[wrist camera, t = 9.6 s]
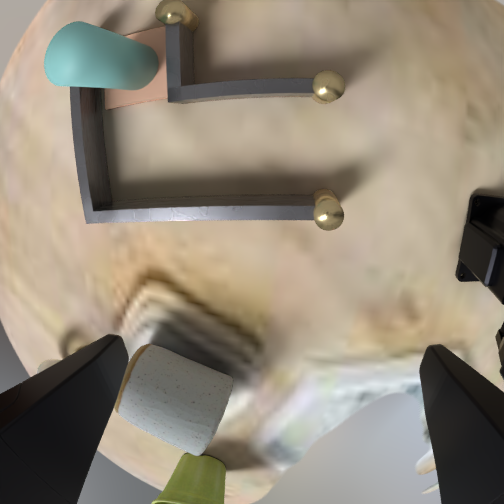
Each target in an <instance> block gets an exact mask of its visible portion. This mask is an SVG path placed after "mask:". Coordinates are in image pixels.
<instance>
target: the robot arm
mask: <svg viewBox="0 0 504 504" xmlns="http://www.w3.org/2000/svg"><path fill="white" fill-rule="evenodd" d="M476 199H478V202H477V203H476V204H475V200H476ZM462 273H463V275H462V276H460V275H461V274H462ZM455 276H456V278H457V279H458V280H459V281H460V282H469V281H480V282H481V283H482V284H483V285H484V286H485V287H488V288H489V289H490V290H491V292H492V293H493V294H494V295H495V296H496V297H497V298H498V300H499V301H500V302H501V303H502V304H503V305H504V197H500V196H492V195H483V194H473V195H472V196H471V197H470V200H469V207H468V214H467V220H466V224H465V227H464V232H463V238H462V243H461V248H460V253H459V261H458V265H457V270H456V275H455ZM495 337H496V341H497V345H498V349H499V357H500V362H501V365H502V367H501V368H500V374H501V376H502V378H503V380H504V322H503V325H502V327H501V329H499V330H498V332H497V334H496V336H495ZM128 361H129V357H128V353H127V350H126V347H125V344H124V342H123V339H122V337H121V336H119V335H114V334H108V335H106V336H104V337H102V338H100V339H99V340H97V341H95V342H93V343H91V344H90V345H88V346H86V347H84V348H82V349H81V350H79V351H77V352H75V353H74V354H72V355H70V356H68V357H66V358H65V359H63V360H61V361H59V362H57V363H56V364H54V365H52V366H50V367H48V368H47V369H45V370H43V371H41V372H39V373H38V374H36V375H34V376H32V377H30V378H29V379H27V380H25V381H23V382H22V383H19V384H18V385H16V386H14V387H12V388H11V389H9V390H7V391H5V392H3V393H1V394H0V504H77V502H78V499H79V496H80V493H81V490H82V488H83V485H84V482H85V479H86V477H87V474H88V471H89V469H90V466H91V463H92V460H93V458H94V455H95V453H96V450H97V448H98V445H99V443H100V440H101V438H102V435H103V433H104V430H105V428H106V425H107V423H108V420H109V418H110V416H111V413H112V411H113V408H114V406H115V403H116V400H117V397H118V394H119V391H120V388H121V384H122V381H123V378H124V375H125V371H126V368H127V365H128ZM419 373H420V380H421V386H422V393H423V401H424V409H425V415H426V421H427V425H428V430H429V434H430V439H431V444H432V449H433V454H434V459H435V464H436V470H437V476H438V482H439V489H440V496H441V503H442V504H504V392H503V391H501V390H500V389H499V388H498V387H496V386H495V385H494V384H492V383H491V382H490V381H489V380H487V379H486V378H485V377H484V376H482V375H481V374H480V373H478V372H477V371H476V370H475V369H473V368H472V367H471V366H469V365H468V364H467V363H465V362H464V361H463V360H461V359H460V358H459V357H458V356H456V355H455V354H454V353H452V352H451V351H450V350H448V349H447V348H446V347H444V346H443V345H441V344H435V345H429V346H428V347H427V349H426V351H425V354H424V357H423V359H422V362H421V365H420V370H419Z"/></svg>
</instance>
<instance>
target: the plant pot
mask: <svg viewBox="0 0 504 504" xmlns="http://www.w3.org/2000/svg"><path fill="white" fill-rule="evenodd" d="M225 476H226V469H225V465H224V464H223V463H222V462H221V461H219V460H217V459H215V458H213V457H211V456H207V455H204V456H200V455H199V456H195V455H193V454H190V453H188V454H184V455H183V456H182V457H181V459H180V461H179V463H178V465H177V467H176V469H175V470H174V472H173V474H172V476H171V478H170V480H169V482H168V483H167V485H166V487H165V489H164V491H163V492H162V493H160V494H159V496H158V498H157V499H155V500H154V501H152V504H224V493H225Z"/></svg>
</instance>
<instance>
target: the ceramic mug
mask: <svg viewBox="0 0 504 504" xmlns="http://www.w3.org/2000/svg"><path fill="white" fill-rule="evenodd" d="M232 386H233V378H232V377H231V376H229V375H226V374H224V373H221V372H218V371H216V370H214V369H211V368H209V367H206V366H204V365H202V364H199V363H197V362H195V361H192V360H190V359H187V358H185V357H183V356H181V355H178V354H176V353H174V352H172V351H170V350H168V349H165V348H163V347H160V346H156V345H152V344H146V345H144V346H141V347H140V348H139V349H138V350H137V351H136V352H135V354H134V355H133V357H132V358H131V360H130V361H129V363H128V365H127V368H126V371H125V375H124V378H123V381H122V384H121V388H120V391H119V394H118V397H117V400H116V403H115V406H114V408H115V411H116V412H117V413H118V414H119V415H120V416H121V417H122V418H124V419H125V420H126V421H128V422H129V423H131V424H133V425H134V426H136V427H138V428H139V429H141V430H144V431H146V432H148V433H150V434H151V435H153V436H155V437H157V438H159V439H161V440H163V441H165V442H167V443H169V444H171V445H173V446H175V447H177V448H179V449H182V450H184V451H186V452H188V453H190V454H193V455H195V456H199V455H201V454H202V453H203V452H204V451H205V450H206V448H207V446H208V445H209V443H210V442H211V440H212V439H213V437H214V435H215V433H216V431H217V428H218V426H219V423H220V421H221V419H222V417H223V415H224V412H225V409H226V406H227V404H228V400H229V397H230V394H231V391H232Z"/></svg>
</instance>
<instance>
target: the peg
mask: <svg viewBox="0 0 504 504" xmlns="http://www.w3.org/2000/svg"><path fill="white" fill-rule="evenodd" d="M158 64H159V62H158V56H157V54H156V52H155V51H154V50H153V49H152V48H151V47H149V46H147V45H145V44H142V43H140V42H137V41H135V40H132V39H130V38H127V37H125V36H122V35H119V34H117V33H114V32H111V31H108V30H106V29H103V28H100V27H97V26H94V25H91V24H88V23H85V22H80V21H79V22H72V23H70V24H68V25H66V26H64V27H63V28H62V29H60V30H59V31H58V32H57V33H56V35H55V36H54V37H53V39H52V40H51V42H50V44H49V46H48V48H47V51H46V54H45V60H44V68H45V73H46V76H47V78H48V79H49V81H50V82H51V83H53V84H55V85H57V86H75V87H96V88H110V89H122V90H139V89H142V88H144V87H145V86H147V85H148V84H149V83H150V82H151V81H152V80H153V78H154V77H155V75H156V73H157V70H158Z"/></svg>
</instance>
